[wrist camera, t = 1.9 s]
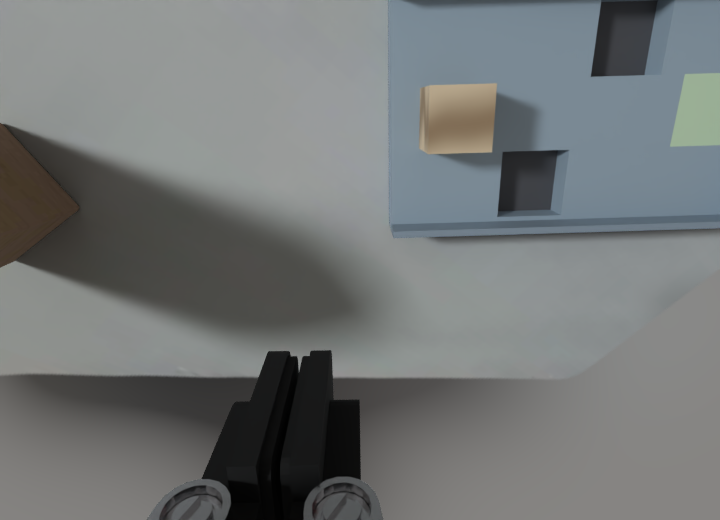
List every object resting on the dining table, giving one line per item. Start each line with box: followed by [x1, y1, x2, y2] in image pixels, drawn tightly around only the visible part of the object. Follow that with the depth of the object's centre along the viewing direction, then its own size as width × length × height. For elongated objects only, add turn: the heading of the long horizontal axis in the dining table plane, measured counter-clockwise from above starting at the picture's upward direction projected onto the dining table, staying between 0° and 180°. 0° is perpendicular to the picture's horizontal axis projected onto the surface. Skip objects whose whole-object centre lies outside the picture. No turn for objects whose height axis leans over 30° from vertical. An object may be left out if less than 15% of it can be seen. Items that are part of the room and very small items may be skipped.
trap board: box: [388, 0, 720, 238], centre depth 38 cm, size 20×32×5 cm, turn 92°
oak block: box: [419, 83, 497, 154], centre depth 35 cm, size 5×5×5 cm
